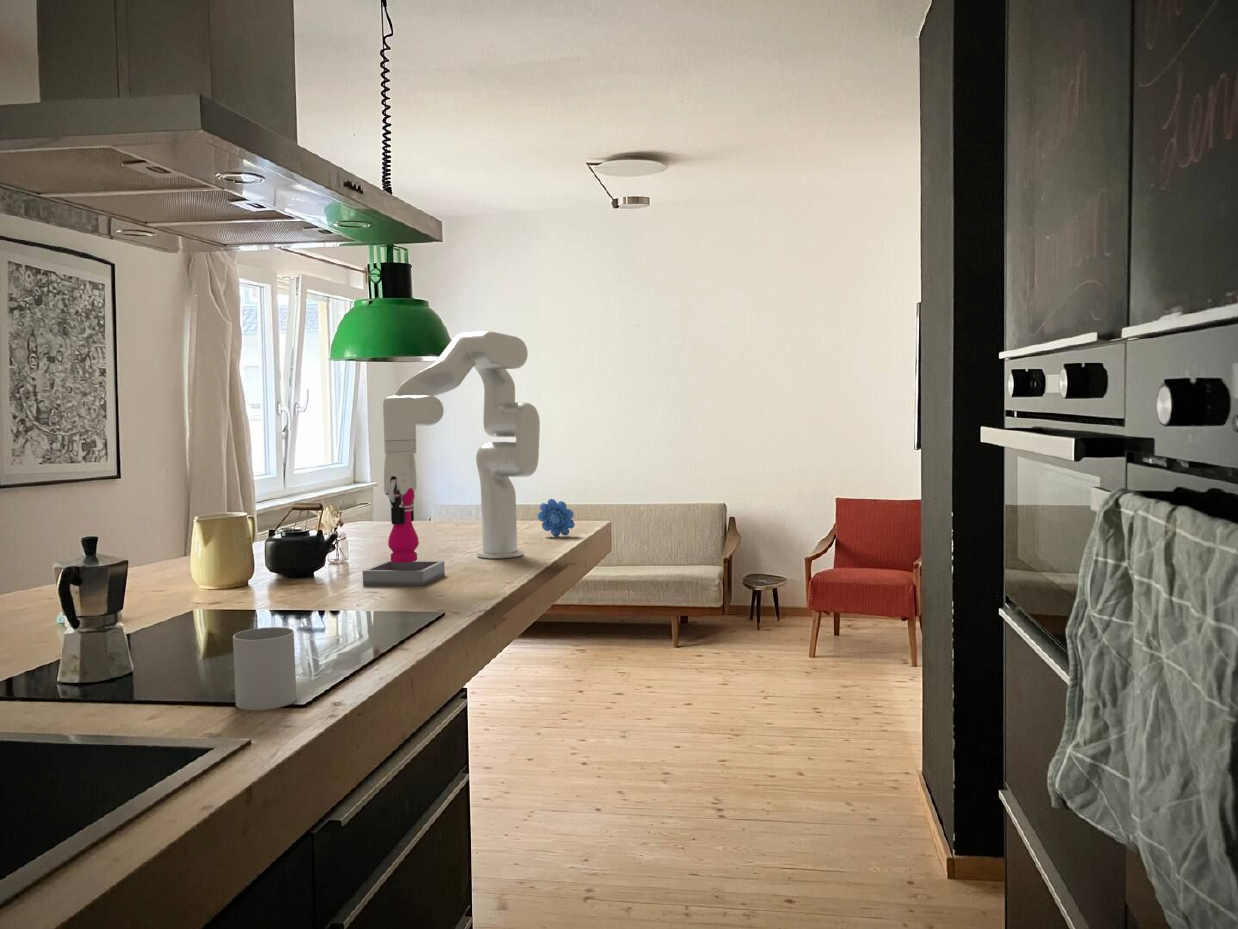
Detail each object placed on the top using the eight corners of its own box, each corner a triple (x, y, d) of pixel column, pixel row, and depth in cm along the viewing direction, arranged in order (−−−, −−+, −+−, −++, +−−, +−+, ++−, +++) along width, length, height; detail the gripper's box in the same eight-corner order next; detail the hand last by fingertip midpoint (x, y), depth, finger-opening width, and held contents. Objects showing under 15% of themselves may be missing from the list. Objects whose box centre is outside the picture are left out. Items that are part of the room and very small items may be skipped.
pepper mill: (422, 558, 254) (420, 477, 252) (414, 563, 246) (411, 479, 245) (394, 558, 254) (391, 477, 253) (384, 563, 247) (381, 479, 246)
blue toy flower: (536, 538, 322) (535, 500, 321) (539, 535, 328) (538, 498, 328) (573, 538, 321) (572, 499, 320) (575, 535, 328) (574, 497, 327)
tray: (387, 574, 259) (387, 560, 259) (444, 575, 257) (444, 561, 257) (363, 585, 245) (362, 570, 244) (423, 586, 242) (423, 571, 242)
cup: (291, 690, 155) (288, 624, 155) (302, 704, 148) (299, 635, 148) (231, 699, 151) (228, 631, 151) (240, 713, 144) (237, 643, 144)
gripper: (398, 446, 258) (401, 518, 259) (371, 449, 241) (374, 527, 242) (427, 445, 256) (429, 518, 258) (402, 449, 240) (404, 527, 241)
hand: (402, 522), depth 250 cm, fingers closed on pepper mill, 5 cm apart
